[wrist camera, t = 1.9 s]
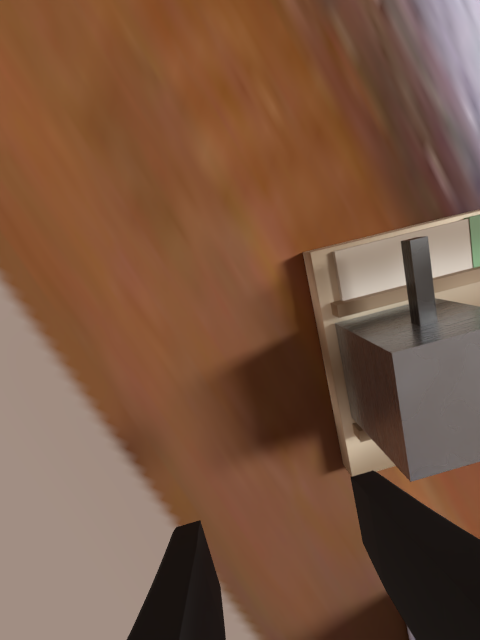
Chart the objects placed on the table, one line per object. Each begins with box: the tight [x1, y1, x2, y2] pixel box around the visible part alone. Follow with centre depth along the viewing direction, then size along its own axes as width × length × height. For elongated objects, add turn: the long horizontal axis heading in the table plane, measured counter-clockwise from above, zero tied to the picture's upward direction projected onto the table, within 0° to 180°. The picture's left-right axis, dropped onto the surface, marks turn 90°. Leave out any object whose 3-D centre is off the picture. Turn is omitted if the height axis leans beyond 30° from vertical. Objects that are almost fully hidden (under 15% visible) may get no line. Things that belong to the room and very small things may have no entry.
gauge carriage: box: [335, 236, 480, 482], centre depth 14 cm, size 8×5×5 cm, turn 13°
